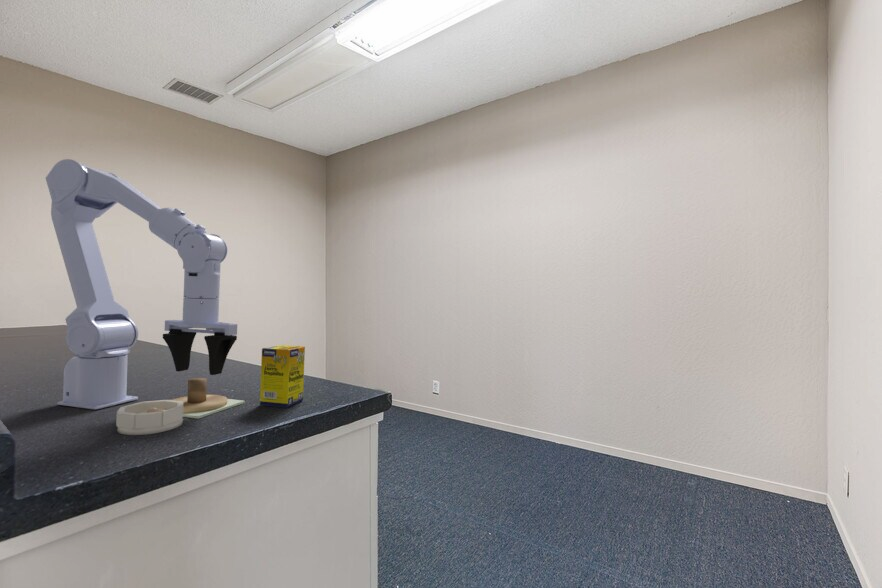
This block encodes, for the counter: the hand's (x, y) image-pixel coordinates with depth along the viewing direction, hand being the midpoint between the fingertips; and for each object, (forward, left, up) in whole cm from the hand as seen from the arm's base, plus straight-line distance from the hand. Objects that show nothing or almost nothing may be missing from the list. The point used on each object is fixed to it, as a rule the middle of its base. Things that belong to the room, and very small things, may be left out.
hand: (198, 372), depth 77 cm
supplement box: (+12, +8, -7) cm, 16 cm away
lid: (0, 0, -6) cm, 6 cm away
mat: (0, 0, -6) cm, 6 cm away
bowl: (+2, -11, -6) cm, 13 cm away
